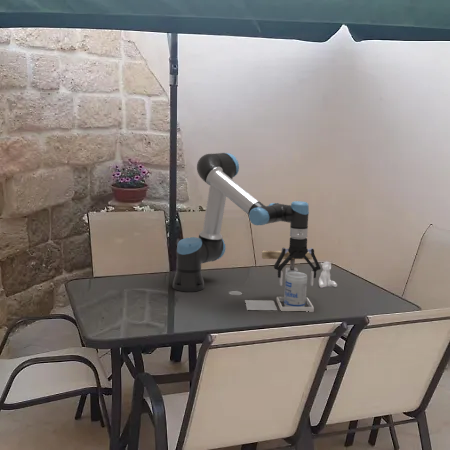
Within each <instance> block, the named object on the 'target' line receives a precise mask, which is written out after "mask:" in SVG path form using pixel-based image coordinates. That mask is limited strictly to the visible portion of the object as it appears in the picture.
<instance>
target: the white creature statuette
mask: <svg viewBox="0 0 450 450" xmlns="http://www.w3.org/2000/svg"><path fill="white" fill-rule="evenodd" d="M319 265H320V266H321V267H322V268H321V269H322V271H321V272H320V276H319V278H318V286H319V287H320V289H322V288H326V287H334V288H337V287H338V283H337V282H336V281H334V280H332V279H331V273H330V272H331V269H332V263H331V262H329V261H324V262H323V263H322V262H320V263H319Z"/></svg>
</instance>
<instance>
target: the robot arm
mask: <svg viewBox="0 0 450 450" xmlns="http://www.w3.org/2000/svg"><path fill="white" fill-rule="evenodd" d="M239 170H240V164H239V161H238V159H237V157H236V156H235V155H234V154H231V153H227V152H220V153H219V152H218V153H206V154H204V155H202V156H201V157H199V159H198V161H197V163H196V171H197V174H198V176H199V178H201V180H202V181H203V182H204V183H206V185H208V186H209V189H208V196H207V201H206V208H205V215H204V222H203V229H202V230H201V231H200V232H199V233H198V237H195V236H192V237H184V238H182V239H180V240H179V241H178V242H177V245H176V246H177V247H176V271H175V272H176V273H175V275H174V278H173V280H172V289H174V290H176V291H179V292H189V293H190V292H198V291H203V290H204V289H205V280H204V278H203V274H202V264H205V263H209V262H214V261H217V260H219V259H221V258H222V257H223V256H224V255H225V253H226V243H225V241H224V239H223V237H224V236H223V235H222V233H221V231H222V224H223V218H224V213H225V207H226V206H225V205H226V202H227V201H226V200H227V199H229V200H230V201H232V203H234V204H235V205H236V206H237V207H238V208H239V209H241V211H243V212H245V214H247V215H248V219H249V220H250V223H251V224H252V225H254V226H264V225H267V224H268V225H270V224H272V223H278V222H284V223H290V227H289V228H290V229H289V236H290V238H289V244H288V245H289V246H288V248H285V247H282V248H281V251H282V252H281V254H280V256H279V258H278V259H276V262H275V263H274V265H273V268H274V269H275V270H276V271H277V278H278V279H279V286H281V287H282V286H283V277H284V274H283V269H284V268H285V267H286V265H287V264H289V263H290V260H291V259H292V258H294V259H295V260H305V262H307V264H308V265H309V266H310V268H312V269H311V270H310V281H309V283H310V286H311V287H313V286H314V280H315V279H316V278H317V271H319V270H320V271H321V270H322V268H321V264H320V263H319V262H318V259H317V257H316V253H315V249H314V248H313V247H310V248H308V238H307V237H308V233H309V232H308V231H309V229H308V227H309V214H310V210H309V203H308V202H306V201H300V200H299V201H297V200H294V201H292V202H291V203H290V204H284V203H279V202H277V203H276V202H271V203H269V205H265V204H264V203H262V202H261V201H260V200H258V199H257V198H256V197H255V196H253V195H252V194H251V193H250V192H248V191H247V190H246V189H245V188H243V186H241V185H240V184H239V183H237V182H236V181H235V180H234V179H233V178H234V177H236V176H237V175H238V173H239ZM287 252H289V253H290V254H289V255H288V257H287V258H286V259H283V257H284V255H285V254H286V253H287ZM307 252H309V253H310V254H311V256H312V260H313V262H314V264H313V263H312V262H311V260H310V259H308V258H307V257H306V256H305V255H306V254H307ZM302 258H304V259H302ZM282 260H283V261H282ZM314 265H315V266H314Z"/></svg>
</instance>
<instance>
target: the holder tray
mask: <svg viewBox="0 0 450 450" xmlns="http://www.w3.org/2000/svg"><path fill="white" fill-rule="evenodd" d="M281 302H282V303H284V296H276V304H277V306H278V308H279V311H280V310H281V311H306V312H305V313H314V311H315V310H314V309H315V308H314V305H313V304H312V302H311V301H310V299H309V298H308V297H307V296H306V302H305V303H306V305H308V306H305V307H285V306H282V303H281ZM281 311H280V312H281ZM308 311H309V312H308Z"/></svg>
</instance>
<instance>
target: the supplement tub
mask: <svg viewBox="0 0 450 450" xmlns="http://www.w3.org/2000/svg"><path fill="white" fill-rule="evenodd" d="M285 274H286V278H285V277H284V278H285V279H284V292H283V293H284V294H283V297H284V302H283V307H306V303H307V302H306V297H307V286H308V275H307V274H306V273H304V272H300V271H298V272H288V273H286V272H285Z"/></svg>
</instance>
